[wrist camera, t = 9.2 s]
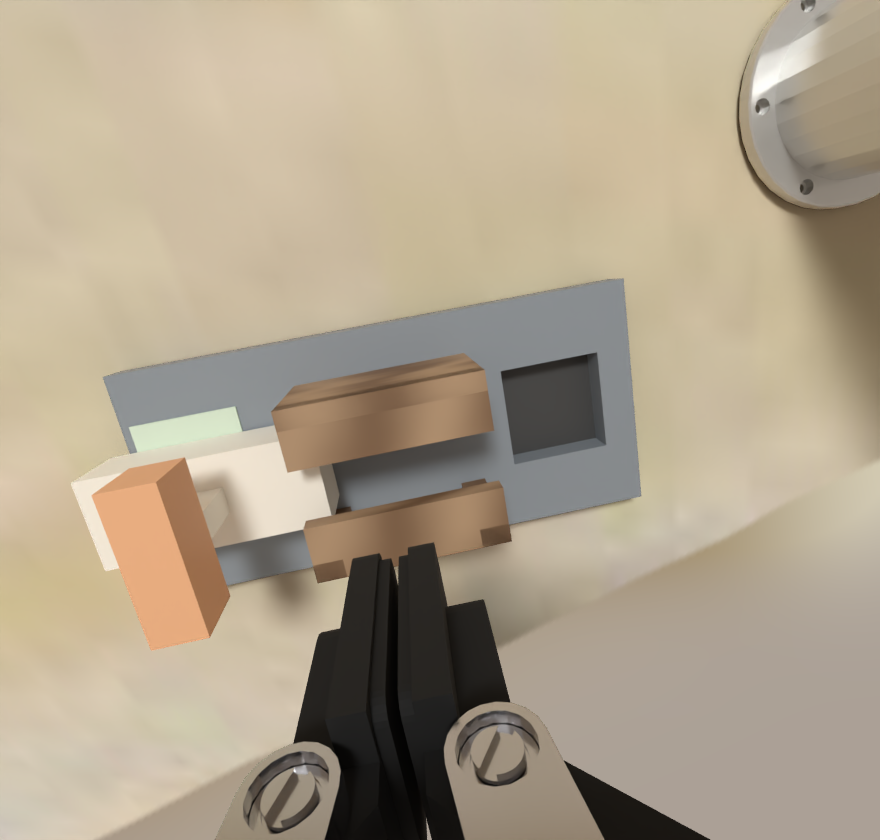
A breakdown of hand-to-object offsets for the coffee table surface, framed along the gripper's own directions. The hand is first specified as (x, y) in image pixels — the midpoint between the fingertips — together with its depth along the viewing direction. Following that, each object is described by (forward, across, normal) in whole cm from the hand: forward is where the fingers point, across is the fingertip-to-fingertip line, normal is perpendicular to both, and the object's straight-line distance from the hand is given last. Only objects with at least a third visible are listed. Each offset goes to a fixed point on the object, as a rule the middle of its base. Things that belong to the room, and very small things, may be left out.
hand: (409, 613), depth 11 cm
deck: (+23, +1, +3) cm, 23 cm away
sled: (+20, +11, +3) cm, 23 cm away
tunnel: (+21, +1, +3) cm, 21 cm away
